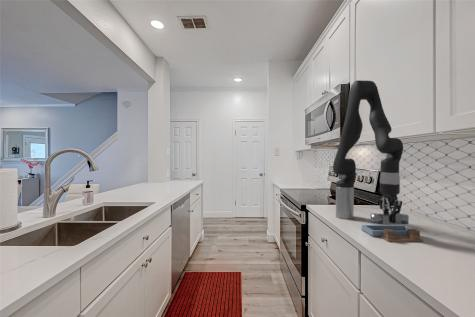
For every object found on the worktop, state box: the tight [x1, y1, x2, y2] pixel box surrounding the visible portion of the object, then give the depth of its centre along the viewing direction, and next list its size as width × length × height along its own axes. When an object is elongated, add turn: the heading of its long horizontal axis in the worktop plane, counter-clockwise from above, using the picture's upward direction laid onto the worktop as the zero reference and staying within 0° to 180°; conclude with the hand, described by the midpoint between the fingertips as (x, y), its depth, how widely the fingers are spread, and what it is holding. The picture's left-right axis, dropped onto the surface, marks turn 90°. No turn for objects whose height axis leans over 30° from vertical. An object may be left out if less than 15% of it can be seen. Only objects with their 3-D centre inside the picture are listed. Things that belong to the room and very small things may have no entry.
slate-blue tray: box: [361, 224, 414, 238], centre depth 108 cm, size 9×20×2 cm, turn 90°
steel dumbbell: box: [370, 213, 410, 225], centre depth 108 cm, size 5×16×4 cm, turn 90°
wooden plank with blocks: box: [380, 228, 424, 243], centre depth 100 cm, size 5×14×4 cm, turn 90°
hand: (389, 220), depth 108 cm, fingers closed on steel dumbbell, 4 cm apart
